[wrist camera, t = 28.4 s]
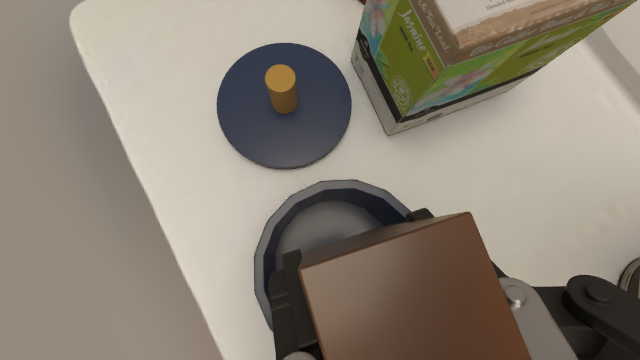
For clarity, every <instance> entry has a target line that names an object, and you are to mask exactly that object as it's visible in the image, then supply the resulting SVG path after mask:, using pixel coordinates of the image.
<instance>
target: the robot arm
mask: <svg viewBox="0 0 640 360" xmlns="http://www.w3.org/2000/svg"><path fill="white" fill-rule="evenodd" d="M429 218H434V216H433V215H432V214H431V212H430V211H429V210H428V209H426V208H422V209H419V210H416V211H413V212H410V213H407V214H406V222H411V221H417V220H423V219H429ZM281 256H282V262H283V267H284V269H281V270H278V271H275V272H272V273H271V277H270V280H269V283H268V292H269V299H270V309H271V317H272V325H273V334H274V342H275V350H276V360H324V358H323V355H322V351H321V348H320V344H319V341H318V338H317V334H316V331H315V327H314V324H313V321H312V317H311V314H310V310H309V307H308V303H307V300H306V297H305V293H304V290H303V286H302V283H301V280H300V276H299V273H298V269H299V266H300V263H301V259H302V254H301V251H300V249H296V250H293V251H290V252H287V253H284V254H282V255H281ZM490 260H491V259H490ZM491 262H492V261H491ZM492 265H493V267H494V270H495V272H496V274H497V277H498V279H499V282H500V284H501V286H502V289H503V291H504V294H505V296H506V298H507V301H508V303H509V306H510V308H511V311H512V313H513V315H514V318H515V320H516V323H517V325H518V327H519V330H520V332H521V335H522V337H523V339H524V342H525V344H526V347H527V349H528V352H529V354H530V356H531V359H532V360H640V258H639V259H637V260H636V261H634V262H633V263H632V264H631V265H630V266H629V267H628V268H627V269H626V271H625V272H624V274H623V276H622V279H621V281H620V285H619V287H618V286H616V285H614V284H612V283H610V282H608V281H606V280H604V279H602V278H599V277H595V276H590V275H578V276H574V277H572V278H571V279H570V280H569V281H568V283H567V285H566V286H560V287H533V286H529V285H528V284H526V283H525V282H523V281H521V280H518V279H514V278H509V277H508V276H506V275H505V274H504V273H503V272H502V271H501V270H500V269H499V268H498V267H497V266H496V265H495V264H494V263H493V262H492Z"/></svg>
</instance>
